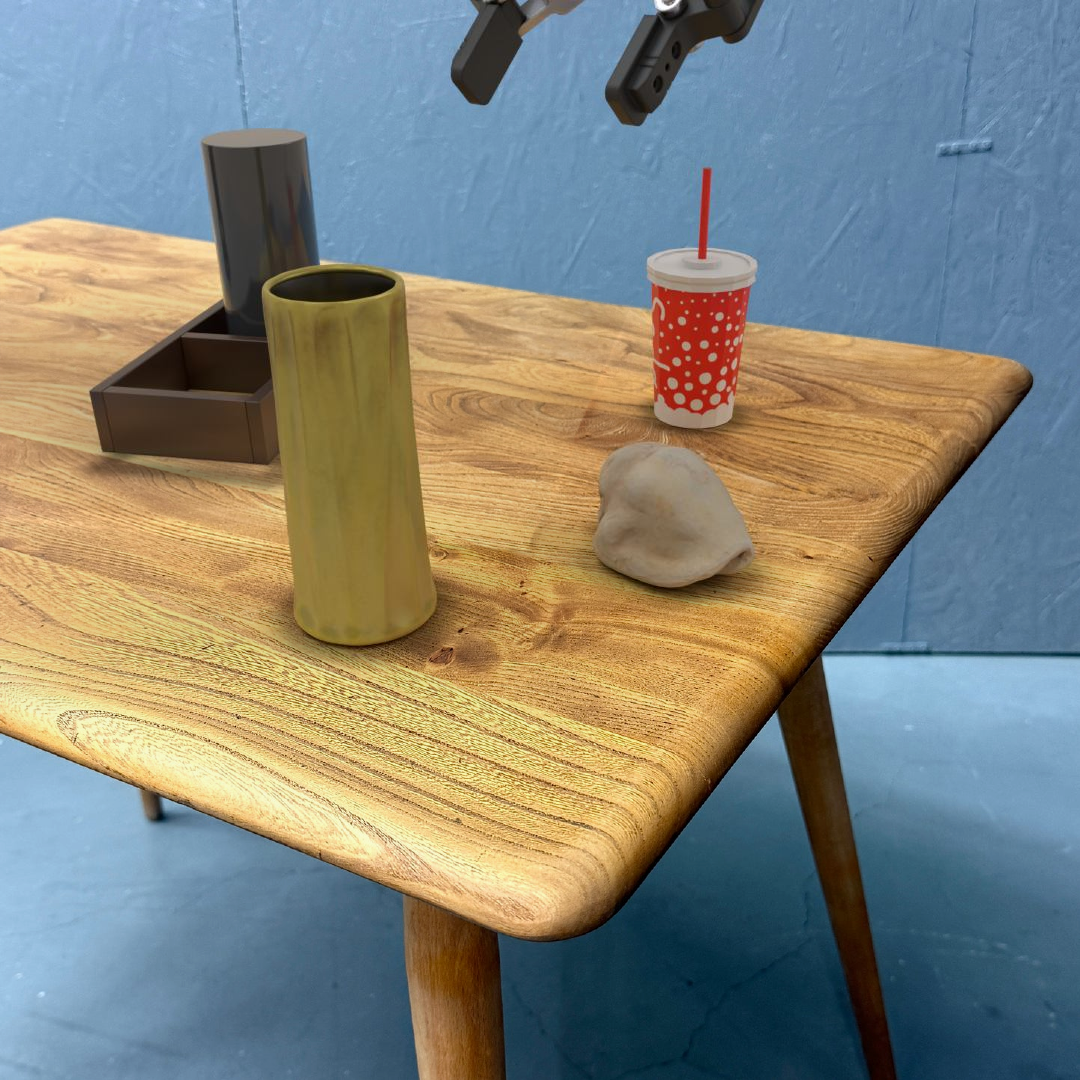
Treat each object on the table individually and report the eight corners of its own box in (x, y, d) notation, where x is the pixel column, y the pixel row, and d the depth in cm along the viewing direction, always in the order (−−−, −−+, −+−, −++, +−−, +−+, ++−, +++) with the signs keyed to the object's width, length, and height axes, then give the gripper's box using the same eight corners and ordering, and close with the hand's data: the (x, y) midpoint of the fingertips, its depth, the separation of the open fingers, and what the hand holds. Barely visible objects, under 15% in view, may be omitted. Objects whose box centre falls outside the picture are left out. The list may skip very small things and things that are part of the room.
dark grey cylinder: (218, 382, 71) (181, 145, 64) (257, 349, 76) (227, 127, 69) (310, 388, 70) (282, 148, 63) (343, 354, 75) (321, 129, 68)
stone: (730, 573, 57) (629, 447, 57) (800, 524, 51) (688, 385, 52) (639, 648, 53) (533, 513, 54) (704, 604, 48) (585, 455, 49)
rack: (103, 464, 63) (88, 390, 60) (245, 350, 78) (236, 288, 76) (269, 478, 61) (259, 402, 59) (380, 358, 77) (374, 295, 74)
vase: (431, 647, 47) (408, 306, 40) (281, 649, 47) (231, 309, 40) (442, 571, 52) (422, 258, 45) (306, 573, 52) (266, 260, 45)
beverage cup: (653, 388, 71) (663, 154, 64) (753, 399, 70) (773, 159, 63) (630, 427, 66) (637, 176, 59) (736, 439, 65) (756, 183, 58)
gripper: (546, -276, 51) (371, 29, 49) (837, -315, 43) (640, 51, 41) (618, -136, 57) (465, 141, 55) (885, -145, 49) (715, 180, 47)
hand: (539, 102), depth 48 cm, fingers open, 8 cm apart
